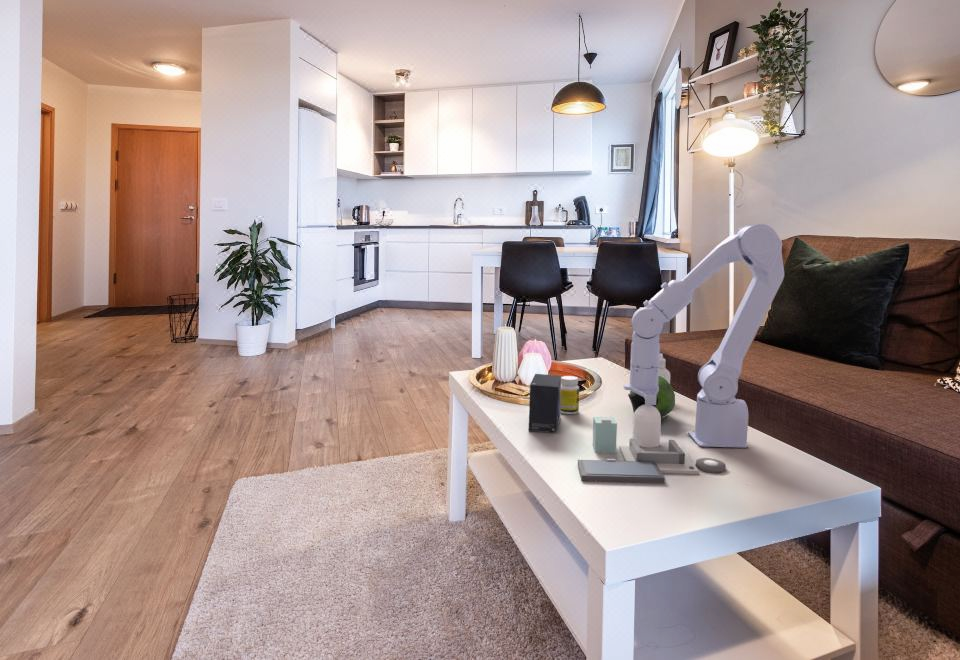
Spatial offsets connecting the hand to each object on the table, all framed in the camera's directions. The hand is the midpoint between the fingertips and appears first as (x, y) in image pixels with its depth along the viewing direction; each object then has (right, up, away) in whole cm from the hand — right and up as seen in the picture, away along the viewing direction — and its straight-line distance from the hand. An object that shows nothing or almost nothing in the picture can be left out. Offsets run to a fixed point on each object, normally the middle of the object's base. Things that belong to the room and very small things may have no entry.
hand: (641, 428), depth 120 cm
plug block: (-10, -3, -7) cm, 12 cm away
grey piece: (-1, -4, -14) cm, 14 cm away
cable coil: (+8, -4, -17) cm, 19 cm away
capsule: (0, -2, -4) cm, 5 cm away
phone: (-9, -5, -19) cm, 22 cm away
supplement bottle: (-13, +1, +17) cm, 21 cm away
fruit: (+6, +1, +14) cm, 16 cm away
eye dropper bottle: (+12, +3, +27) cm, 29 cm away
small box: (-20, -1, +7) cm, 21 cm away
